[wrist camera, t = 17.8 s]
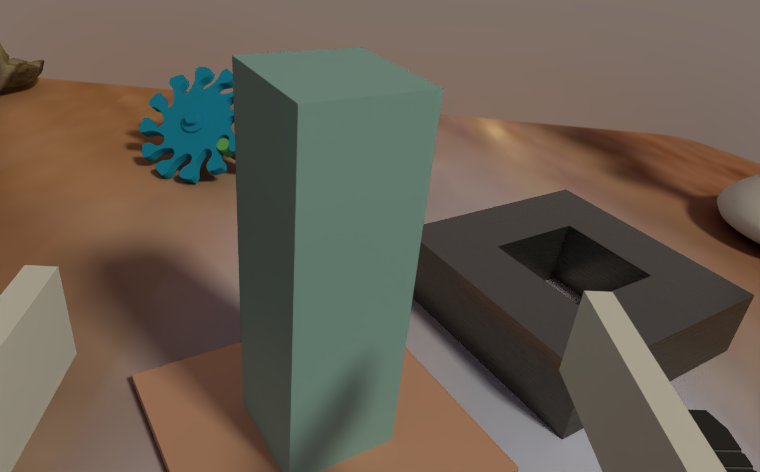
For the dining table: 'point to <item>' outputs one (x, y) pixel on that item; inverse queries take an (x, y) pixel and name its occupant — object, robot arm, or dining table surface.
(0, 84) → the ceramic sculpture
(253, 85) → the peg
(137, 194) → the dining table surface
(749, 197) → the flower in vase
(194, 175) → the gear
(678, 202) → the dining table surface
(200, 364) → the mat
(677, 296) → the socket block
